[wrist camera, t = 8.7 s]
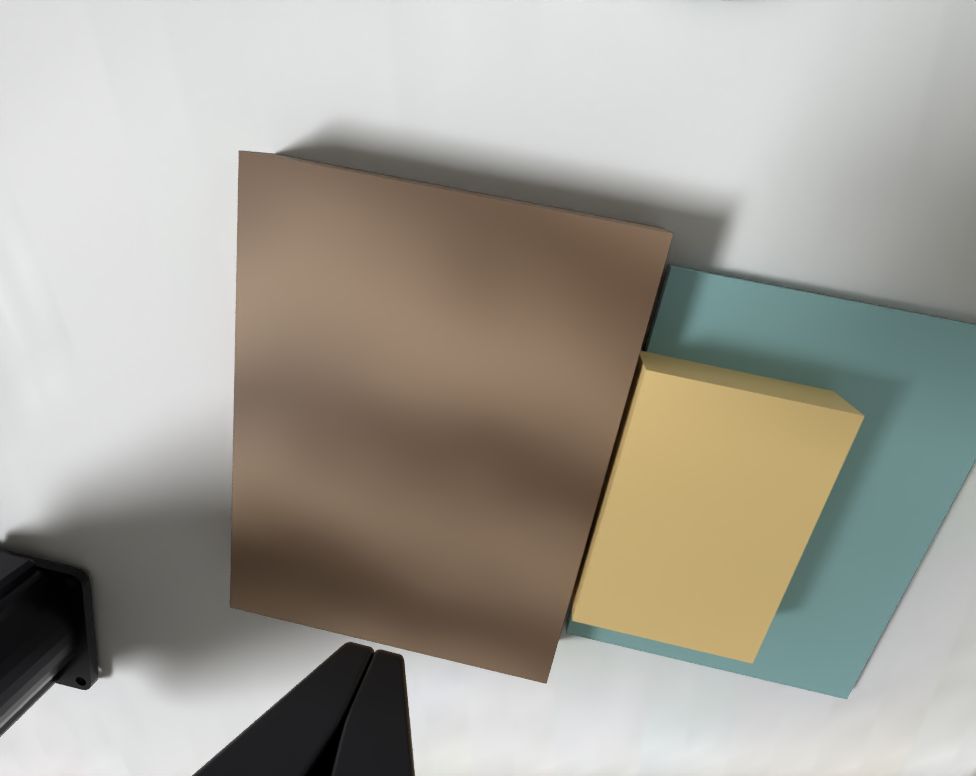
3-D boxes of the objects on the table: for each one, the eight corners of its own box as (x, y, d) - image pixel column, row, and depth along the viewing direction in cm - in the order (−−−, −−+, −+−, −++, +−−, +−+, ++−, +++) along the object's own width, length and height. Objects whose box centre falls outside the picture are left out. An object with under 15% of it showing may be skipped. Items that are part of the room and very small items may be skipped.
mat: (842, 690, 22) (846, 699, 21) (566, 625, 22) (566, 633, 22) (1030, 335, 17) (1040, 338, 16) (669, 264, 17) (671, 266, 17)
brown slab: (548, 642, 23) (546, 683, 21) (257, 573, 23) (230, 607, 22) (661, 227, 17) (673, 233, 15) (273, 153, 18) (238, 150, 16)
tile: (736, 620, 21) (752, 663, 19) (571, 581, 21) (572, 620, 19) (833, 390, 18) (864, 415, 16) (638, 350, 18) (646, 370, 16)
